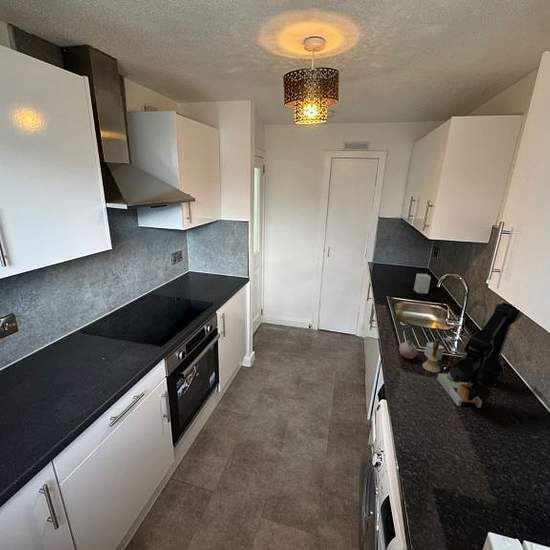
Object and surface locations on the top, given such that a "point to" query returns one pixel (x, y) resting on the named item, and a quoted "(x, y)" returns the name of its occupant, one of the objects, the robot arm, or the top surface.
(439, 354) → the product box
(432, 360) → the hand bell
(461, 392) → the cardboard shipping carton
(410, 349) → the decorative fruit
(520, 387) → the top surface
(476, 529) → the top surface
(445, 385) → the two-pronged gray clamp
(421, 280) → the supplement box
